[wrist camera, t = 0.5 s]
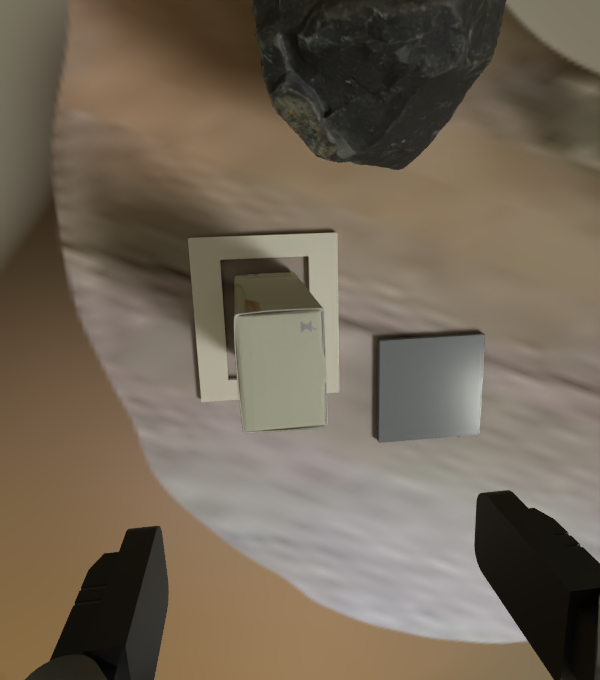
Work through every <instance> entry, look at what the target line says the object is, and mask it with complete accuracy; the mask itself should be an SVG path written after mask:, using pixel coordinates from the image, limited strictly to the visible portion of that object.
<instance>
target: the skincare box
mask: <svg viewBox="0 0 600 680" xmlns="http://www.w3.org/2000/svg"><path fill="white" fill-rule="evenodd" d="M234 349H235V363H236V375H237V385H238V395H239V404H240V412H241V420H242V428H243V432H244V433H257V432H281V431H295V430H309V429H321V428H325V427H326V426H327V424H328V416H327V372H326V347H325V323H324V309H323V307H322V306H321V305H320V304H319V303H318V301H317V300H316V299H315V298H314V296H313V295H312V294H311V293H310V291H309V290H308V289H307V288H306V287H305V285H304V284H303V283H302V282H301V280H300V279H299V278H298V277H297V275H296V274H295V273H260V274H247V275H237V276H235V278H234Z"/></svg>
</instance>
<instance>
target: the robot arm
mask: <svg viewBox="0 0 600 680" xmlns="http://www.w3.org/2000/svg"><path fill="white" fill-rule="evenodd" d="M475 554H476V559H477V562H478V565H479V568H480V570H481V572H482V573H483V575H484V576H485V578H486V579H487V581H488V582H489V584H490V585H491V587H492V588H493V590H494V591H495V593H496V594H497V596H498V597H499V599H500V600H501V602H502V603H503V605H504V606H505V607H506V609H507V610H508V612H509V613H510V615H511V616H512V618H513V619H514V621H515V622H516V624H517V625H518V627H519V628H520V630H521V631H522V633H523V634H524V636H525V637H526V639H527V640H528V642H529V643H530V644H531V646H532V648H533V649H534V651H535V652H536V653H537V655H538V657H539V658H540V660H541V661H542V662H543V664H544V665H545V667H546V668H547V670H548V671H549V673H550V674H551V676H552V677H553V679H554V680H600V563H599V562H598V561H597V560H596V559H595V558H594V557H592V556H591V555H590V554H589V553H588V552H587V551H586V550H585V549H584V548H583V547H580V544H579V543H578V542H577V541H576V540H575V539H574V538H573V537H572V536H569V535H568V532H567V531H566V530H565V529H564V528H563V527H562V526H561V525H560V524H559V523H558V522H557V521H556V520H554V519H553V518H551V517H549V516H548V515H546V514H544V513H542V512H540V511H539V510H537V509H535V508H529V509H528V508H527V507H526V506H525V504H524V503H523V502H522V501H521V500H520V499H519V498H518V497H517V496H516V495H515V494H514V493H513V492H511V491H509V490H506V491H496V492H487V493H480V494H479V495H478V497H477V506H476V526H475ZM167 607H168V577H167V569H166V561H165V554H164V545H163V537H162V531H161V528H160V526H152V527H142V528H133V529H128V530H127V531H126V534H125V537H124V540H123V543H122V545H121V548H120V551H119V552H114V553H105V554H104V555H102V557H101V558H100V559H99V560H98V561H97V562H96V563H95V564H94V565H93V566H92V567H91V568H90V569H89V571H88V573H87V575H86V577H85V580H84V582H83V584H82V587H81V591H79V594H78V596H77V598H76V601H75V606H73V608H72V610H71V612H70V615H69V617H68V619H67V622H66V624H65V626H64V629H63V631H62V634H61V636H60V638H59V640H58V643H57V645H56V647H55V650H54V652H53V655H52V657H51V659H50V661H49V662H47V663H45V664H43V665H42V666H40V667H39V668H37V669H36V670H35V671H33V672H32V673H31V674H30V675H29V676H28V677H27V678H26V679H25V680H154V677H155V672H156V667H157V661H158V656H159V651H160V645H161V640H162V635H163V629H164V624H165V618H166V613H167Z"/></svg>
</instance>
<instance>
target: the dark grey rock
mask: <svg viewBox="0 0 600 680" xmlns="http://www.w3.org/2000/svg"><path fill="white" fill-rule="evenodd" d="M251 1H252V15H253V17H254V18H255V20H256V24H257V26H256V33H255V35H256V38H257V41H258V48H259V51H260V52H261V67H262V68H261V72H262V76H263V78H264V81H265V83H266V87H267V91H268V94H269V96H270V99H271V103H272V105H273V107H274V108H275V110H276V112H277V114H279V115H280V116H281V117H282V118H283V119H284V120H285V121H286V122H287V123H288V125H289V126H290V127H291V128H292V129H293V130H294V131H295V133H297V134H298V135H299V137H300V138H301V139H302V140H303V141H304V142H305V144H306V145H307V146H308V147H309V149H310V150H311V151H312V152H313V153H314V154H315V155H316V156H317V157H320V158H323V159H325V160H330V161H333V162H337V163H339V162H352V163H355V164H359V165H370V166H379V167H386V168H390V169H393V170H399V169H403V168H404V167H406V166H407V165H408V164H409V163H411V162H412V161H413V160H414V159H415V158H416V157H417V156H419V155H420V154H421V153H422V151H423V150H424V149H426V148H427V147H428V146H429V144H430V143H431V142H432V141H433V140H434V138H435V137H436V135H437V134H438V133H439V131H440V130H441V129H442V128H443V127H444V126H445V125H446V123H448V122H449V120H450V119H451V117H452V115H453V114H454V113H455V110H456V108H457V107H458V105H459V104H460V103H461V102H462V100H463V98H464V97H465V94H466V93H467V91H468V90H469V89H470V87H471V86H472V84H473V82H474V81H475V80H476V79H477V78H478V77H479V75H480V74H481V73H483V70H484V69H485V68H486V67H487V65H488V64H489V63H490V62H491V60H492V57H493V55H494V50H495V48H496V45H497V40H498V37H499V33H500V27H501V21H502V16H503V11H504V7H505V2H506V0H251Z"/></svg>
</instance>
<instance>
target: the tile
mask: <svg viewBox="0 0 600 680" xmlns="http://www.w3.org/2000/svg"><path fill="white" fill-rule="evenodd" d="M484 350H485V334H483V333H473V334H457V335H440V336H423V337H406V338H390V339H378V403H377V440H378V442H379V443H381V442H393V441H405V440H417V439H429V438H441V437H454V436H466V435H478V434H479V431H480V415H481V399H482V382H483V366H484Z"/></svg>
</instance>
